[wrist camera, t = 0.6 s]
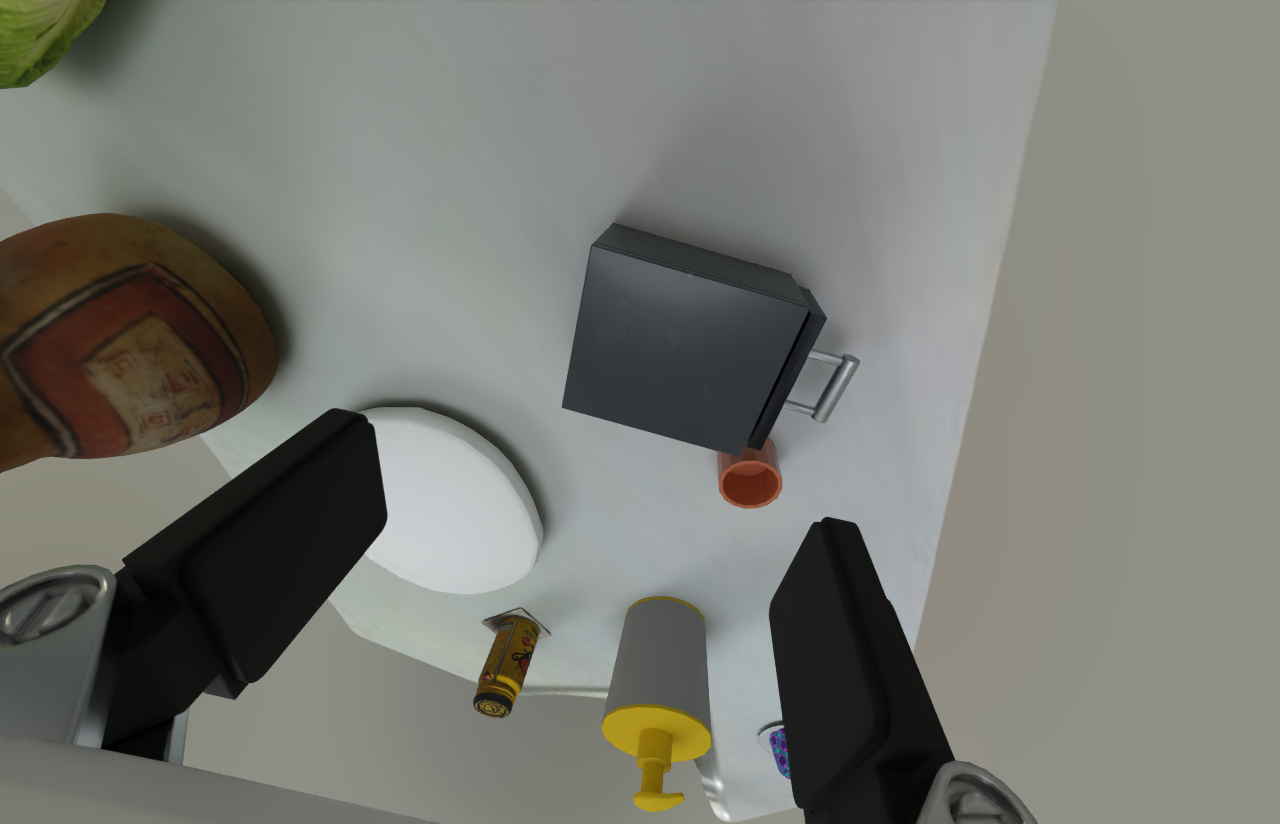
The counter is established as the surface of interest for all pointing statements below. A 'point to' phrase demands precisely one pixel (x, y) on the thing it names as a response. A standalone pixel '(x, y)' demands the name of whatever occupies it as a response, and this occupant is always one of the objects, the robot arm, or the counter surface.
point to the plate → (450, 505)
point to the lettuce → (39, 35)
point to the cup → (750, 476)
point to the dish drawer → (792, 370)
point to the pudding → (776, 747)
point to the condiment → (507, 662)
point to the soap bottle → (660, 694)
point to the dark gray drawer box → (679, 338)
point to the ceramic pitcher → (120, 340)
